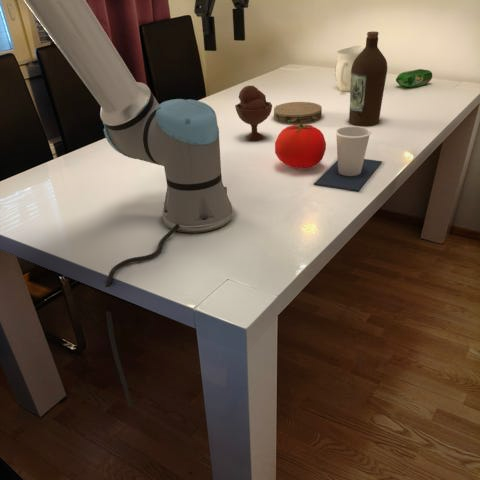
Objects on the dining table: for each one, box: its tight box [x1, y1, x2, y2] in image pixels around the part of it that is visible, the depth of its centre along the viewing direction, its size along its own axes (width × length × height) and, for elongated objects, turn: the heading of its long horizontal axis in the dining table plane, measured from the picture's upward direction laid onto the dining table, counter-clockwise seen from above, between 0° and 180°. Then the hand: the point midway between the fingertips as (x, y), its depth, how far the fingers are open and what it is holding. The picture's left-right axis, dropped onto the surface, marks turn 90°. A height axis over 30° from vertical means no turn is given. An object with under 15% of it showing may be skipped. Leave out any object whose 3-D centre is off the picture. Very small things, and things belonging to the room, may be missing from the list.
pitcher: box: [334, 45, 364, 93], centre depth 185 cm, size 11×18×14 cm, turn 151°
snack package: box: [395, 68, 433, 88], centre depth 188 cm, size 7×16×5 cm, turn 120°
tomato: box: [274, 124, 327, 170], centre depth 125 cm, size 13×12×11 cm
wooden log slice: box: [273, 101, 323, 126], centre depth 163 cm, size 16×16×3 cm
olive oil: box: [348, 30, 388, 127], centre depth 148 cm, size 11×11×25 cm
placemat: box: [313, 158, 383, 192], centre depth 123 cm, size 20×11×1 cm, turn 152°
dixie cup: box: [334, 125, 372, 176], centre depth 120 cm, size 8×8×10 cm
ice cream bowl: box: [234, 85, 273, 142], centre depth 144 cm, size 11×11×15 cm
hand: (225, 45), depth 114 cm, fingers open, 13 cm apart
